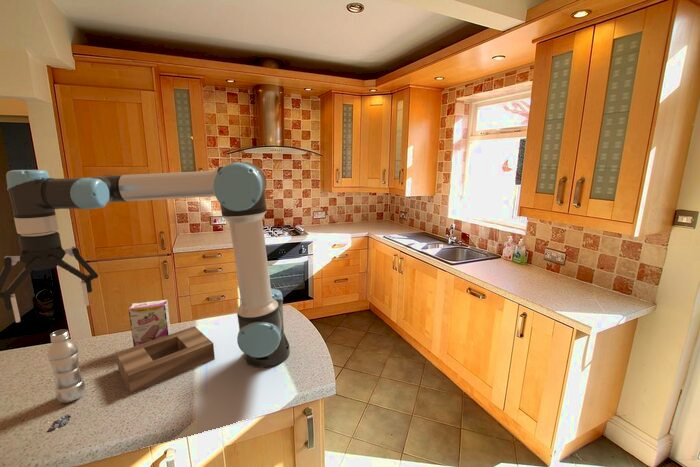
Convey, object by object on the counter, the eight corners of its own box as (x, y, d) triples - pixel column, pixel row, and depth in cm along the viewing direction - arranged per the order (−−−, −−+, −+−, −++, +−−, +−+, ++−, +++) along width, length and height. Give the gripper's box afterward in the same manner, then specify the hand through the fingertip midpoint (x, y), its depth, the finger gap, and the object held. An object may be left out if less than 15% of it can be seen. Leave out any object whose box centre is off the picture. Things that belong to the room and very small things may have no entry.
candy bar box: (134, 353, 113) (127, 309, 110) (137, 345, 118) (131, 303, 114) (170, 347, 117) (165, 304, 114) (172, 340, 122) (167, 298, 118)
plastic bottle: (79, 387, 96) (67, 324, 92) (91, 394, 93) (79, 330, 89) (52, 401, 91) (37, 335, 86) (64, 409, 88) (49, 341, 83)
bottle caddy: (214, 359, 110) (213, 343, 109) (131, 394, 94) (128, 375, 92) (196, 341, 121) (194, 326, 120) (118, 369, 104) (115, 352, 103)
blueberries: (32, 438, 80) (30, 432, 79) (58, 411, 87) (57, 406, 87) (61, 438, 80) (59, 432, 79) (85, 411, 88) (83, 405, 87)
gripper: (97, 224, 93) (109, 294, 98) (-36, 238, 76) (-15, 322, 80) (103, 228, 88) (114, 302, 93) (-40, 244, 71) (-17, 334, 75)
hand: (54, 312), depth 86 cm, fingers open, 13 cm apart
